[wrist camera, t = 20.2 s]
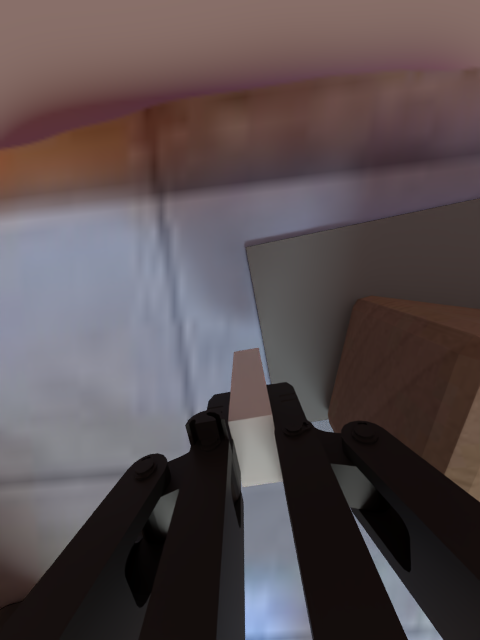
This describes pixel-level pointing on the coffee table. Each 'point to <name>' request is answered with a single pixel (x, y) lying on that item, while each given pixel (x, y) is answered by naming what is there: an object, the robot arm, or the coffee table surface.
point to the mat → (356, 286)
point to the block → (415, 381)
